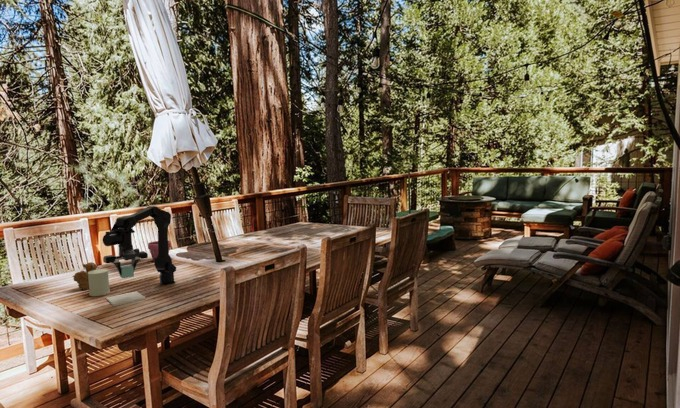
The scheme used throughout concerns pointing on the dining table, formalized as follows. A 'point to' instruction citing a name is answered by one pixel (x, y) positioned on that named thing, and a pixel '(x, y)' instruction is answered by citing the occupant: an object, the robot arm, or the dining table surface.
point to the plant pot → (156, 249)
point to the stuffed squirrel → (84, 275)
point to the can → (98, 282)
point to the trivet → (125, 298)
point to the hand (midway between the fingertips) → (126, 274)
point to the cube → (127, 271)
